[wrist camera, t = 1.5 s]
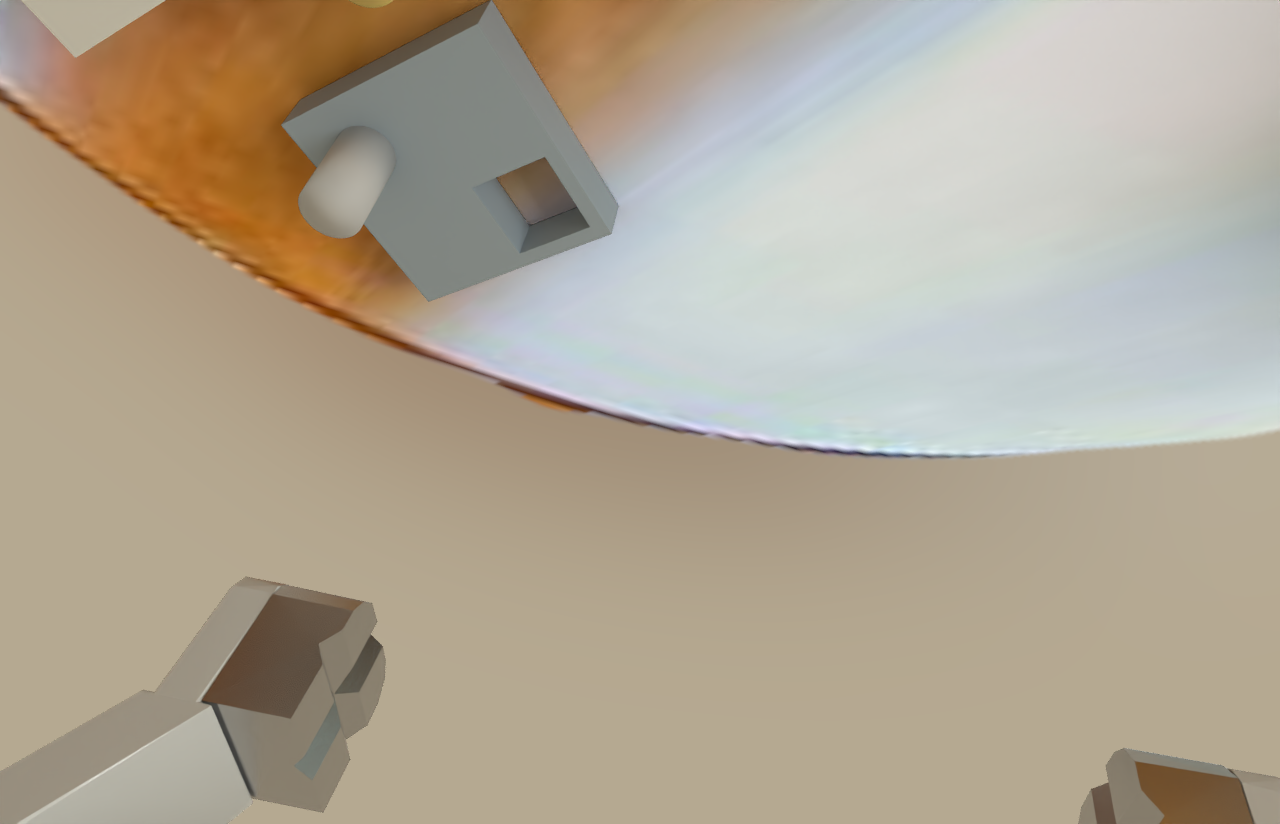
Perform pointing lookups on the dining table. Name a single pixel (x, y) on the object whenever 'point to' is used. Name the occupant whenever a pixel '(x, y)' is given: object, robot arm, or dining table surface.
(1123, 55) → the dining table surface
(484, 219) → the board
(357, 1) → the peg
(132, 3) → the cover
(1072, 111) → the dining table surface
